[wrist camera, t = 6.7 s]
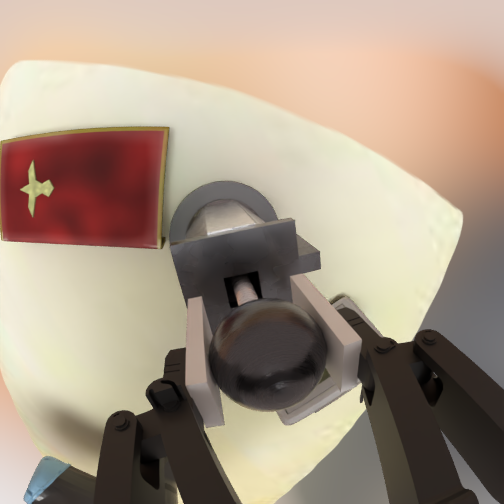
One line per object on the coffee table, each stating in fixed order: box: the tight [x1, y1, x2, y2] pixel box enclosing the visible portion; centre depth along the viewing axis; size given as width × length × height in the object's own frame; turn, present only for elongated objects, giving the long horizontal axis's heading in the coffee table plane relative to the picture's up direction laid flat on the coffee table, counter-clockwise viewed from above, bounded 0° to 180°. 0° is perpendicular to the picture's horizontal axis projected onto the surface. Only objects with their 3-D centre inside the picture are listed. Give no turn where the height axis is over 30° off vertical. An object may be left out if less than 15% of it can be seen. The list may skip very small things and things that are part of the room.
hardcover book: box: [0, 127, 169, 249], centre depth 24 cm, size 12×21×4 cm, turn 83°
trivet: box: [169, 181, 278, 244], centre depth 30 cm, size 12×12×1 cm
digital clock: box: [276, 297, 383, 425], centre depth 32 cm, size 16×9×11 cm, turn 113°
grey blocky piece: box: [170, 199, 321, 335], centre depth 23 cm, size 10×8×13 cm
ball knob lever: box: [209, 273, 327, 412], centre depth 18 cm, size 5×5×19 cm
